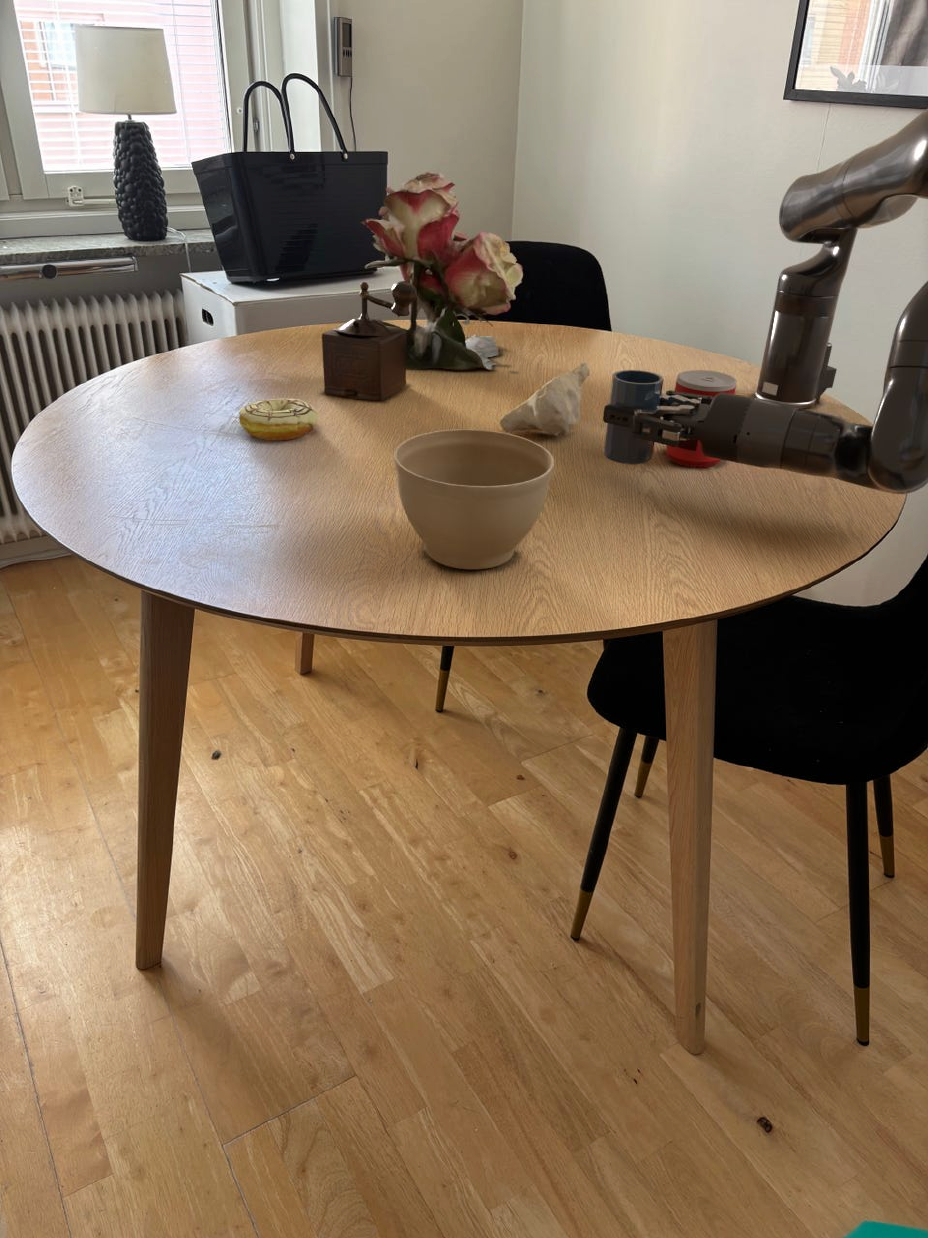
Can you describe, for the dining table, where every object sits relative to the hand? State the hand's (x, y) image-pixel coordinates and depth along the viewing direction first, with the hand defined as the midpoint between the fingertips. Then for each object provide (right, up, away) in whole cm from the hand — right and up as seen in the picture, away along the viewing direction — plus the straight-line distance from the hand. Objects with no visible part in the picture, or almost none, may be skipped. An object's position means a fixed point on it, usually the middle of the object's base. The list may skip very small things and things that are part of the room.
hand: (615, 405), depth 112 cm
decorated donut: (-45, 0, +16) cm, 48 cm away
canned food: (+13, -4, +12) cm, 18 cm away
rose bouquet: (-24, +23, +56) cm, 65 cm away
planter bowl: (-18, -19, -15) cm, 30 cm away
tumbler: (+2, -6, +2) cm, 6 cm away
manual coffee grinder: (-32, +10, +34) cm, 48 cm away
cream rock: (-6, +2, +22) cm, 23 cm away
